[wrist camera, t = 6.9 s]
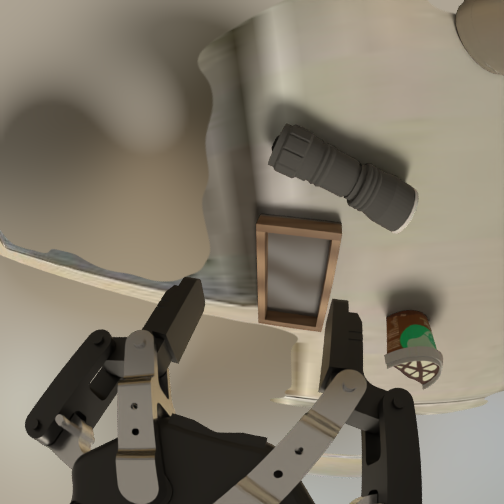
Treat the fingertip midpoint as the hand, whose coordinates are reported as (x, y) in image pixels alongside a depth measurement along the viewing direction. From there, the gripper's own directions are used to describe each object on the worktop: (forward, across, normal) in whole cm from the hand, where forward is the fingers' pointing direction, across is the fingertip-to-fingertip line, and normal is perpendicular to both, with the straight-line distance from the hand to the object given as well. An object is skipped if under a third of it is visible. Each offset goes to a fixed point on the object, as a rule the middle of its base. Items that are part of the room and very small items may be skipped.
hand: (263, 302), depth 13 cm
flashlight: (+23, +1, -3) cm, 23 cm away
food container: (+21, -21, +23) cm, 38 cm away
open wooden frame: (+21, 0, +16) cm, 26 cm away
